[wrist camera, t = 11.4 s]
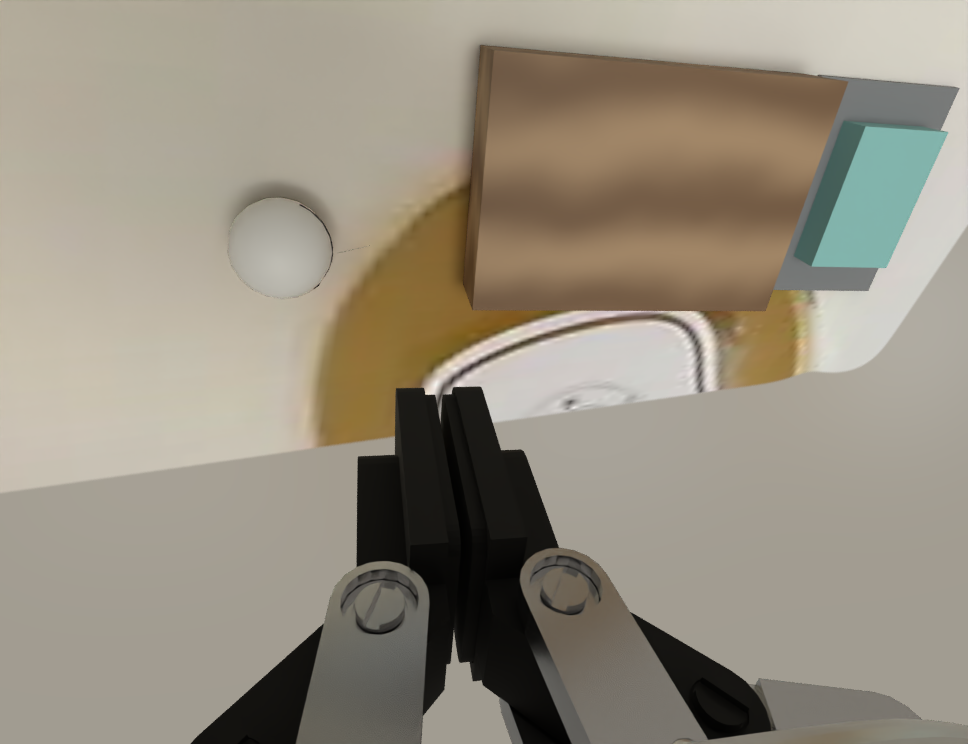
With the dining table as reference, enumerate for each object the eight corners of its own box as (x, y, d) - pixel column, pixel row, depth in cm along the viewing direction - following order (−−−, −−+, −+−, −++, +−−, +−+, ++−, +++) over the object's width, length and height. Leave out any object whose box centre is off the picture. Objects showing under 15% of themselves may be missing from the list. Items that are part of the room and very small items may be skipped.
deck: (480, 45, 32) (494, 50, 29) (803, 73, 36) (848, 81, 33) (463, 283, 40) (472, 310, 36) (734, 287, 43) (765, 311, 40)
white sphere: (237, 271, 37) (218, 311, 32) (236, 178, 34) (216, 207, 29) (363, 286, 39) (363, 325, 34) (372, 198, 36) (374, 228, 31)
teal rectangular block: (948, 132, 37) (923, 126, 39) (865, 126, 36) (843, 120, 38) (886, 268, 42) (866, 257, 44) (811, 266, 41) (793, 256, 42)
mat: (818, 75, 36) (822, 75, 36) (954, 87, 38) (959, 88, 38) (746, 287, 44) (749, 289, 43) (864, 288, 46) (868, 290, 45)
